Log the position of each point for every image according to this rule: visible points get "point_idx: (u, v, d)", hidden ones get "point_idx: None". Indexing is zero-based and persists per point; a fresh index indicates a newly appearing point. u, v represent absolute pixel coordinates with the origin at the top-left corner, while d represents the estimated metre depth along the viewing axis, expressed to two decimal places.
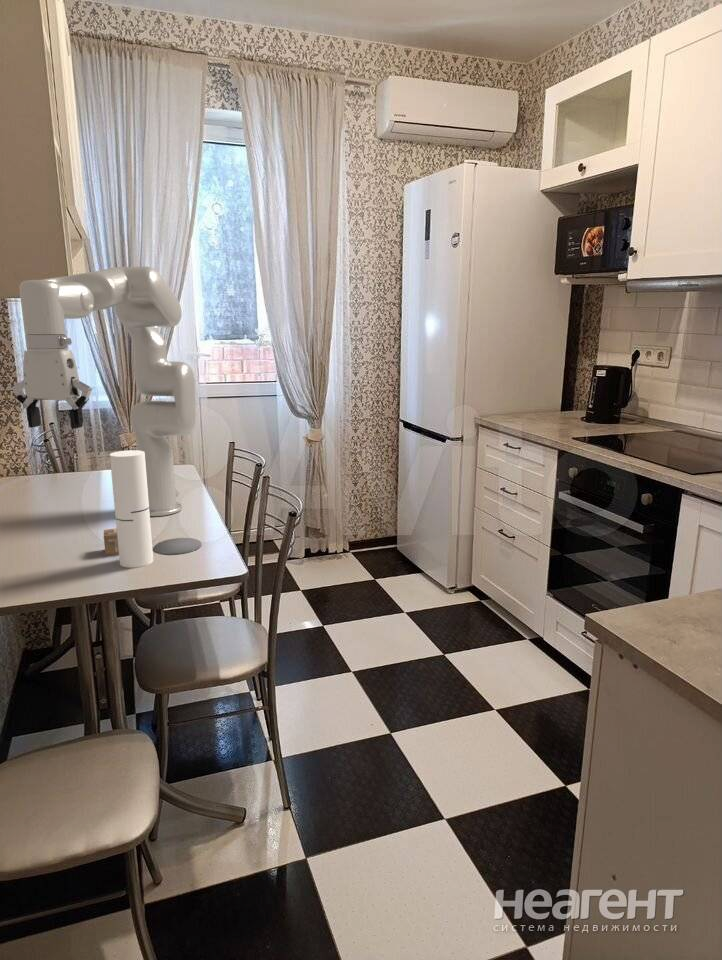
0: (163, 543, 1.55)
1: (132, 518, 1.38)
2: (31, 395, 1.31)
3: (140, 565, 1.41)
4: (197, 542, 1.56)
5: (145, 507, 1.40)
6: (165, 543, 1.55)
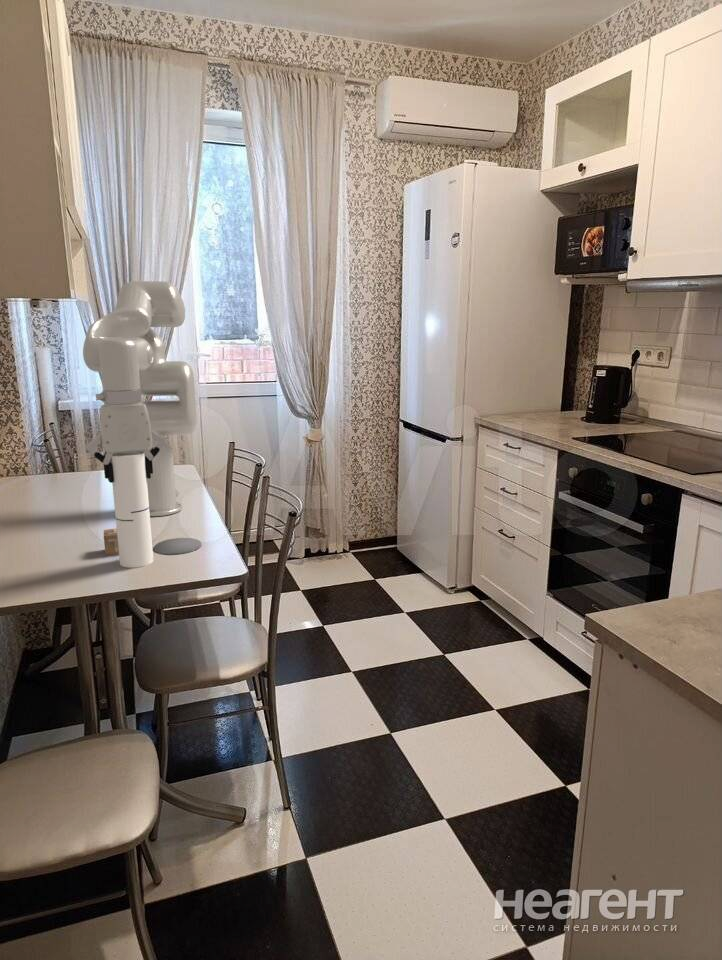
0: (163, 543, 1.55)
1: (132, 518, 1.38)
2: None
3: (140, 565, 1.41)
4: (197, 542, 1.56)
5: (145, 507, 1.40)
6: (165, 543, 1.55)
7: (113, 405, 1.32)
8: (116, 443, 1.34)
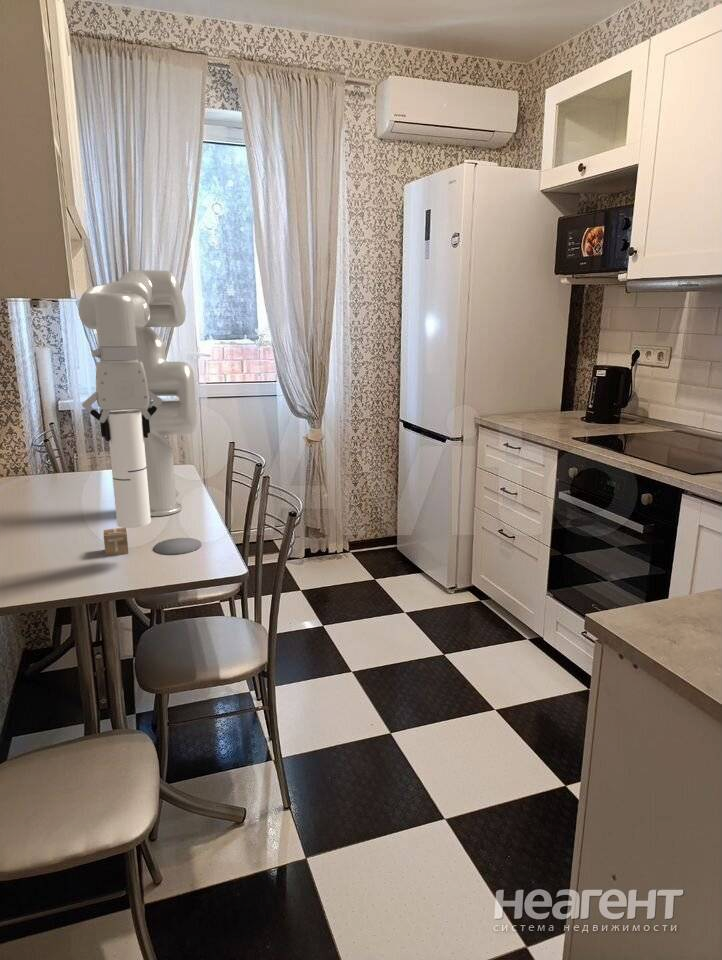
0: (163, 543, 1.55)
1: (129, 477, 1.37)
2: None
3: (137, 525, 1.40)
4: (197, 542, 1.56)
5: (142, 467, 1.38)
6: (165, 543, 1.55)
7: (109, 361, 1.30)
8: (112, 400, 1.32)
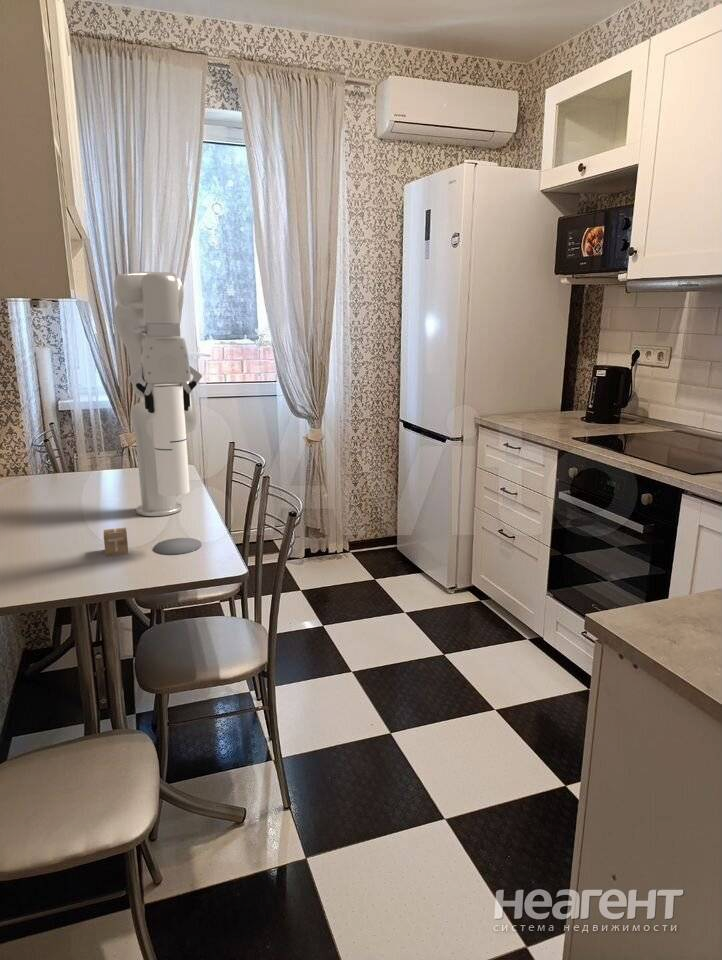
0: (163, 543, 1.55)
1: (171, 447, 1.45)
2: None
3: (178, 494, 1.48)
4: (197, 542, 1.56)
5: (183, 438, 1.47)
6: (165, 543, 1.55)
7: (155, 337, 1.39)
8: (157, 374, 1.41)
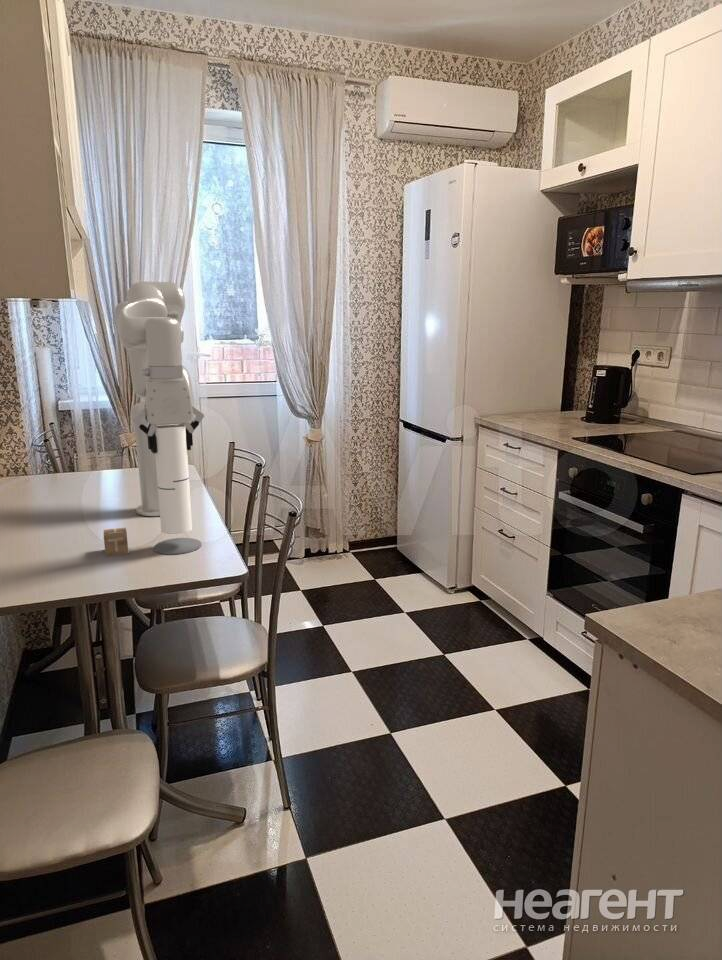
0: (163, 543, 1.55)
1: (174, 487, 1.47)
2: None
3: (181, 532, 1.50)
4: (197, 542, 1.56)
5: (186, 477, 1.49)
6: (165, 543, 1.55)
7: (158, 380, 1.41)
8: (160, 416, 1.43)
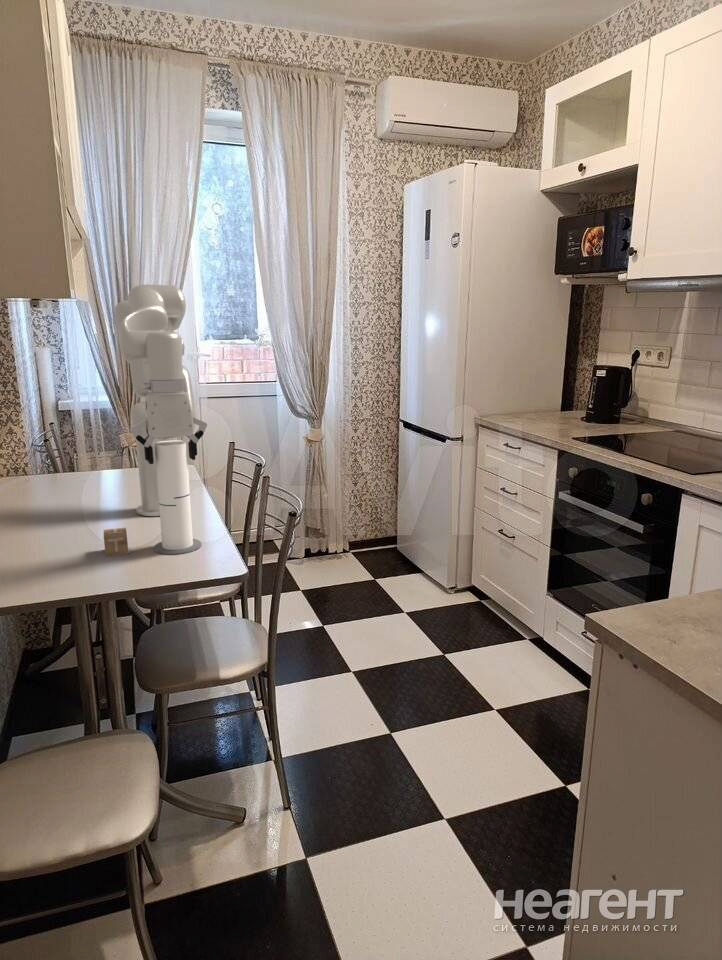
0: None
1: (175, 503, 1.48)
2: None
3: (182, 547, 1.51)
4: (197, 542, 1.56)
5: (187, 493, 1.50)
6: None
7: (159, 393, 1.42)
8: (161, 429, 1.44)
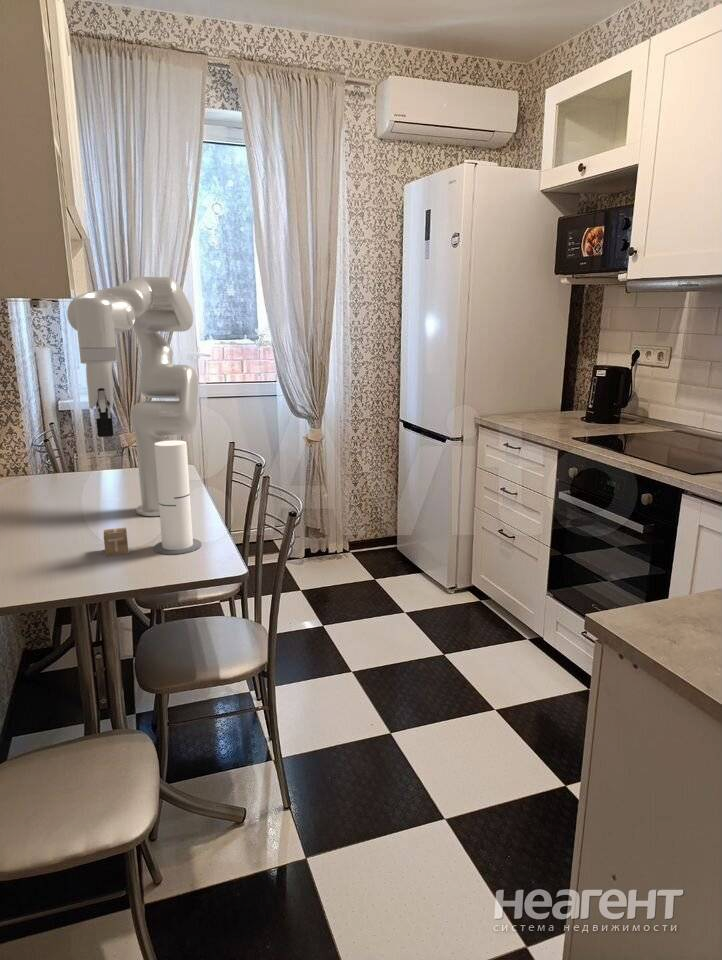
0: None
1: (175, 503, 1.48)
2: None
3: (182, 547, 1.51)
4: (197, 542, 1.56)
5: (187, 493, 1.50)
6: None
7: None
8: None
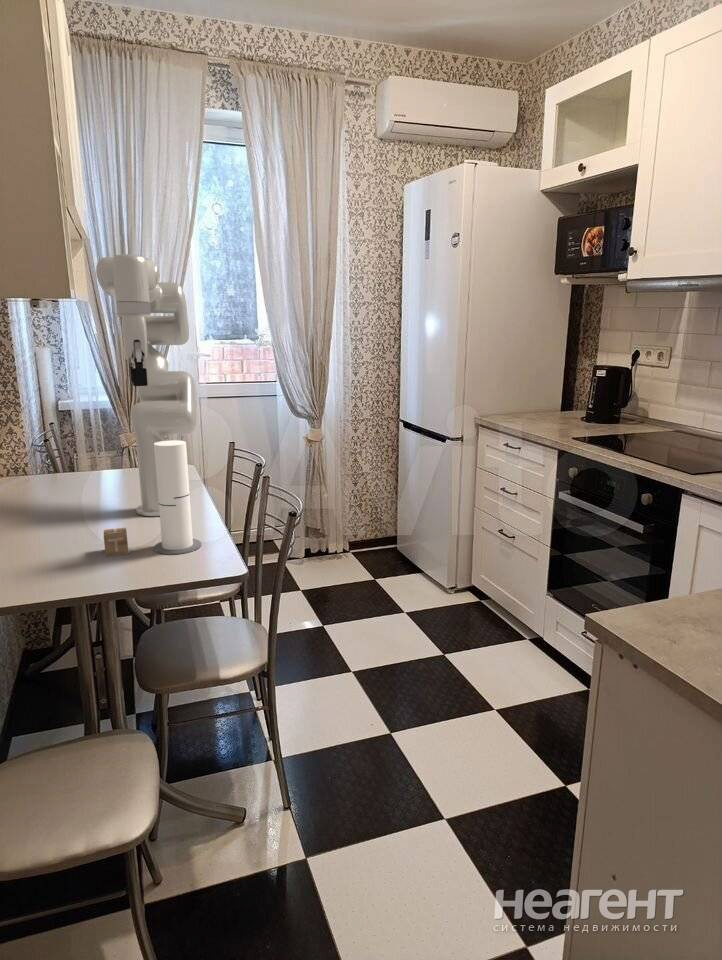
0: None
1: (175, 503, 1.48)
2: None
3: (182, 547, 1.51)
4: (197, 542, 1.56)
5: (186, 493, 1.50)
6: None
7: None
8: None
